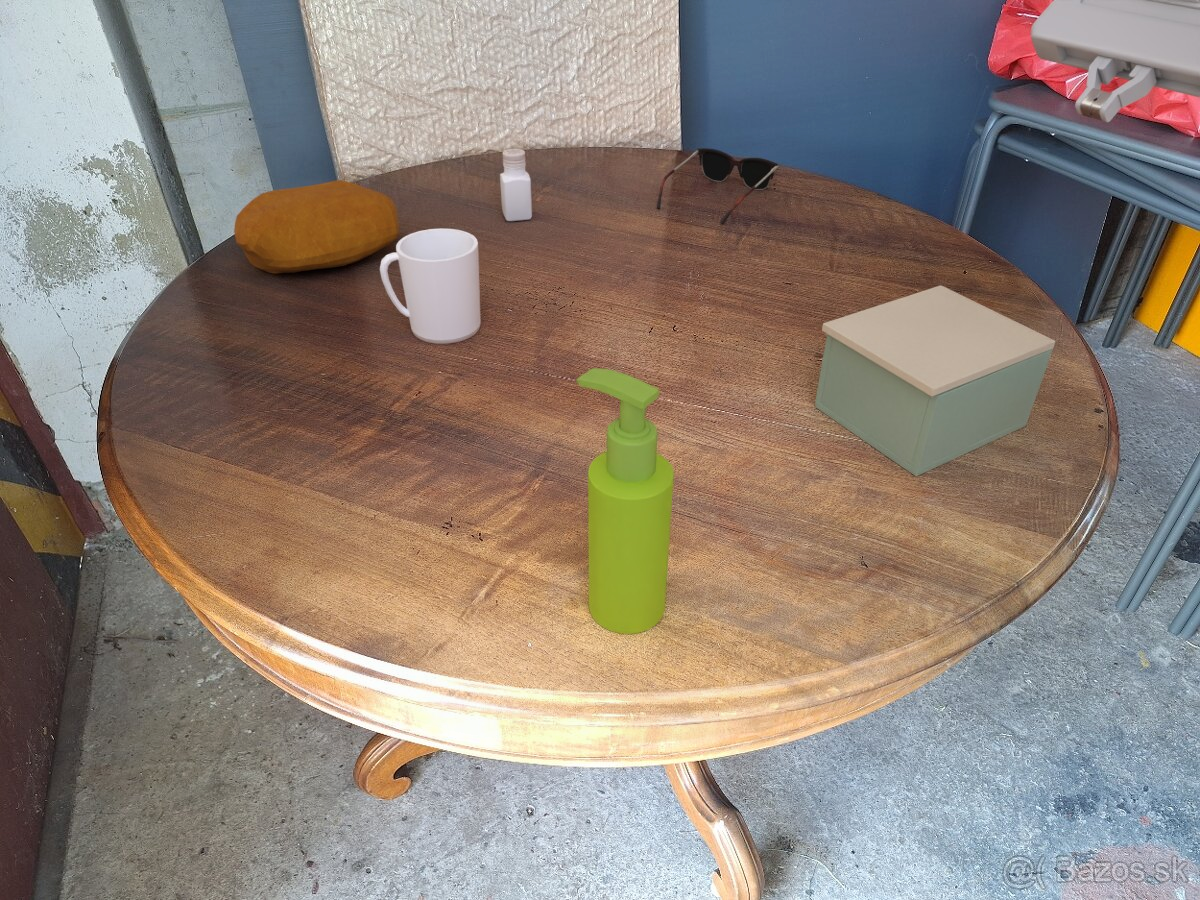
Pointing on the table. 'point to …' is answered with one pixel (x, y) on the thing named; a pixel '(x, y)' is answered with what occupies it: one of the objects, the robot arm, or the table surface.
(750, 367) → the table surface
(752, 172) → the sunglasses
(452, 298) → the mug
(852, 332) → the lid
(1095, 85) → the robot arm
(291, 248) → the bread
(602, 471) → the soap dispenser
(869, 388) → the green open box
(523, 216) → the salt shaker
